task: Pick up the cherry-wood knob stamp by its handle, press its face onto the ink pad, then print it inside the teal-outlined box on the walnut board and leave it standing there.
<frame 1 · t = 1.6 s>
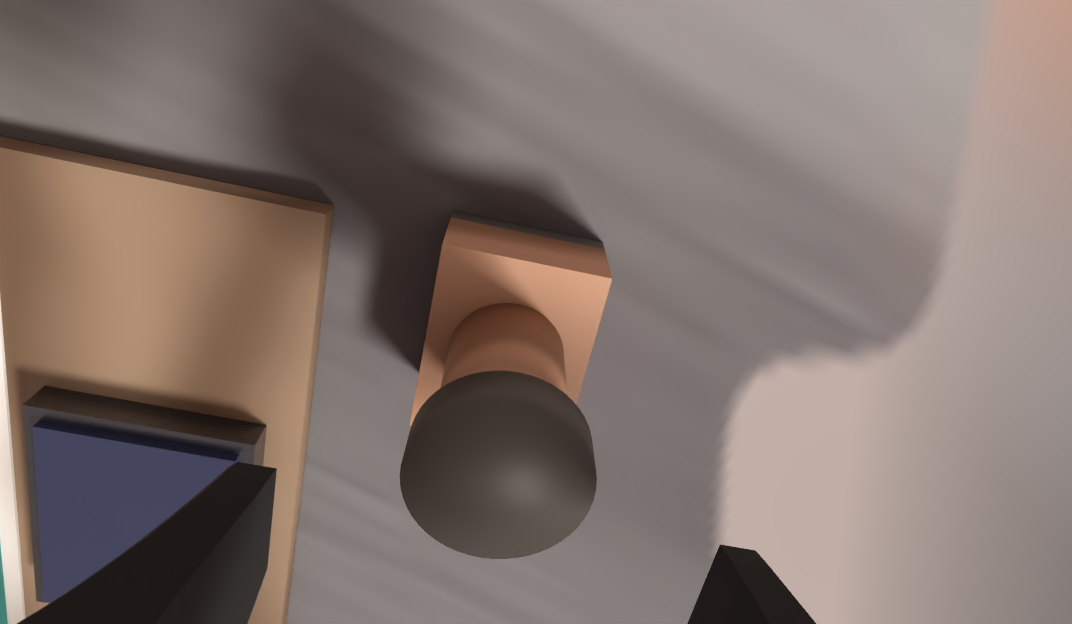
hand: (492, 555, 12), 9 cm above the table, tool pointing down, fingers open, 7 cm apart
stamp: (509, 311, 21), on the table
ink pad: (155, 504, 22), resting on stamping board
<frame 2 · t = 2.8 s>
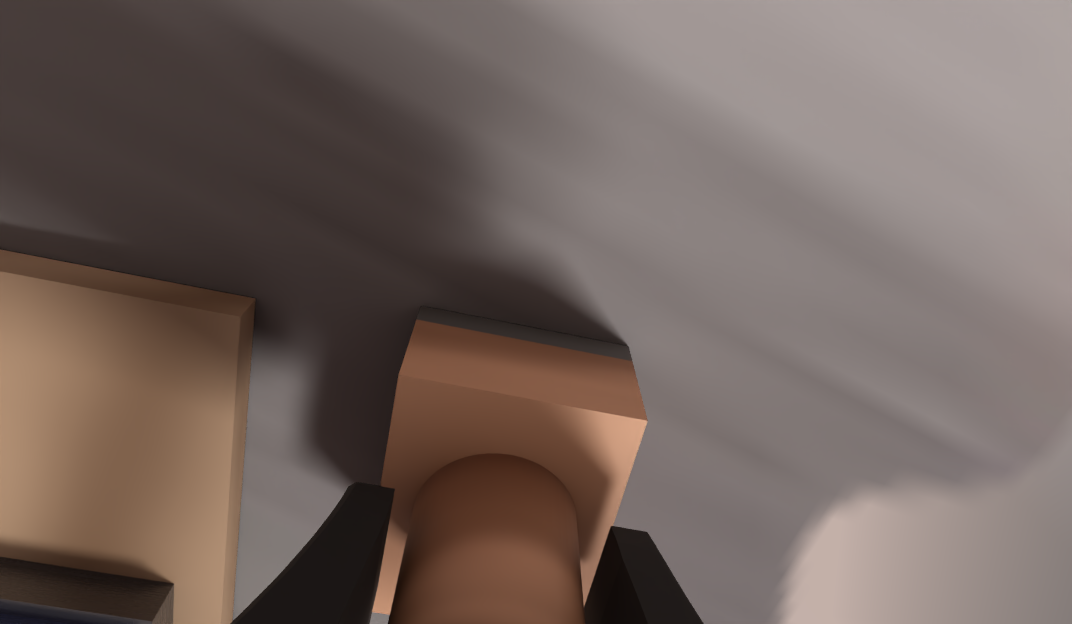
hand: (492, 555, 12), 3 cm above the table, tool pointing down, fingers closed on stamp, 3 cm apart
stamp: (500, 435, 15), on the table, touching gripper
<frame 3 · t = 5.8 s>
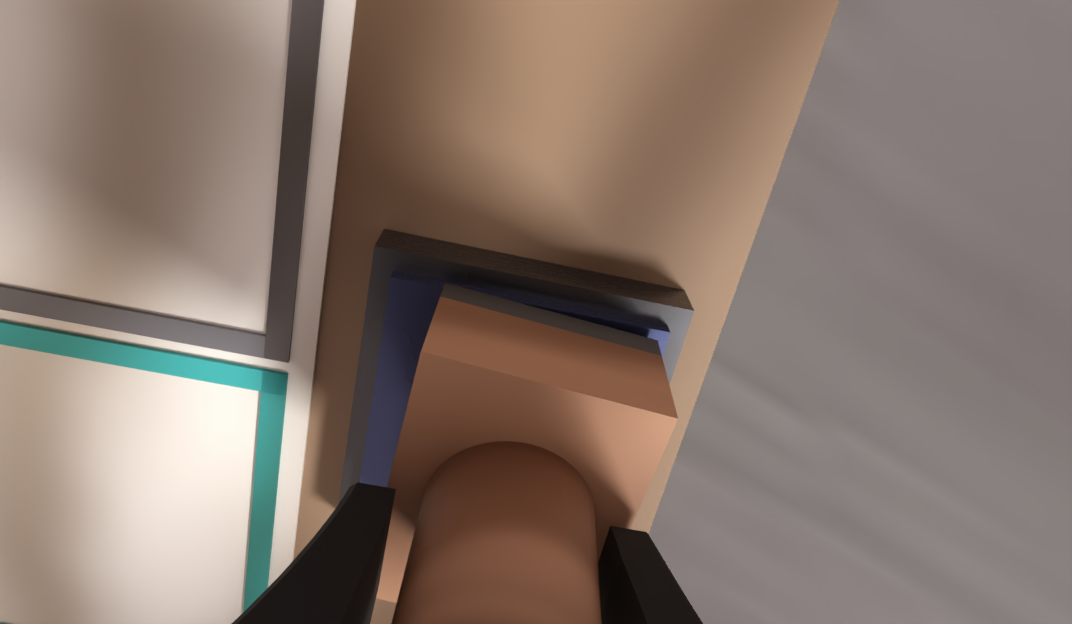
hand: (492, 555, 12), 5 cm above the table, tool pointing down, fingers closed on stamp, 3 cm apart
stamping board: (277, 348, 16), on the table
stamp: (516, 423, 15), point 2 cm above the table, touching gripper, ink pad
ink pad: (501, 409, 16), resting on stamping board
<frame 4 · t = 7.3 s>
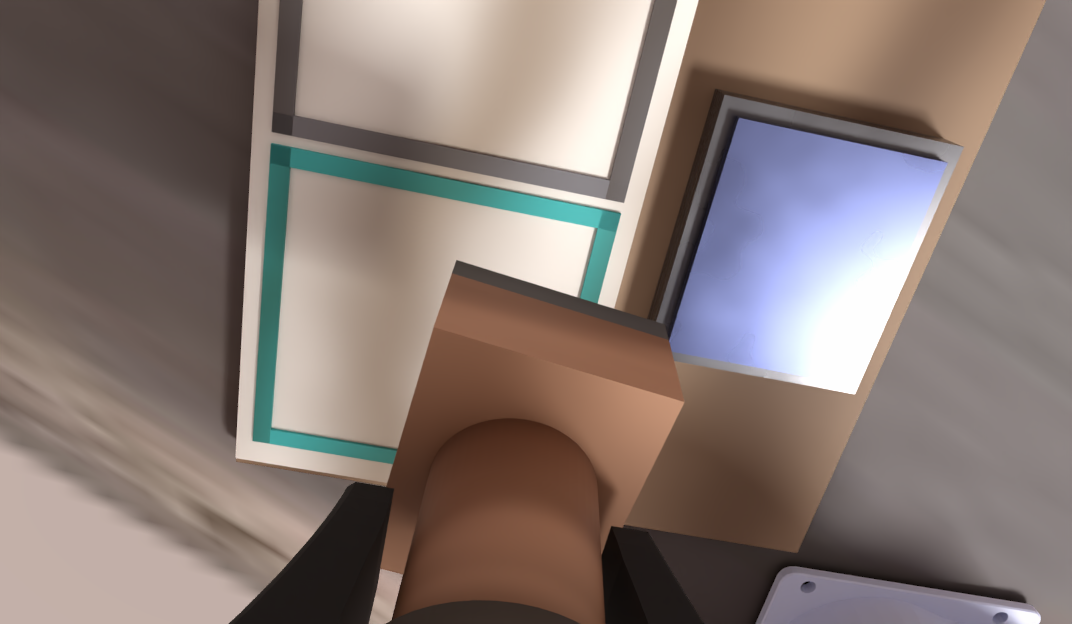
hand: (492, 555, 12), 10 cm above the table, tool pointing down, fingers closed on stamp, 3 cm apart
stamping board: (599, 199, 20), on the table
stamp: (521, 401, 15), point 7 cm above the table, touching gripper
ink pad: (783, 244, 20), resting on stamping board
when the fingers open (4 cm above the table, at t = 8.8 s): stamp stays where it is, resting on stamping board.
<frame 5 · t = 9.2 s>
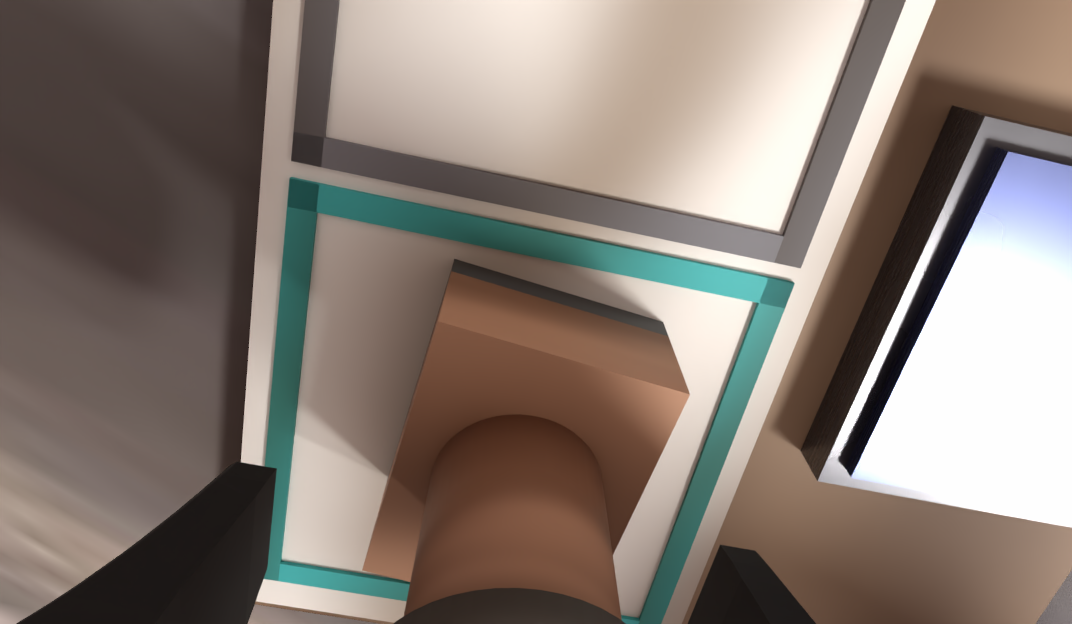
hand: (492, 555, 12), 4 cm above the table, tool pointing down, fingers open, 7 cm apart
stamping board: (753, 258, 14), on the table
stamp: (518, 403, 15), point 1 cm above the table, touching stamping board
ink pad: (1017, 326, 14), resting on stamping board
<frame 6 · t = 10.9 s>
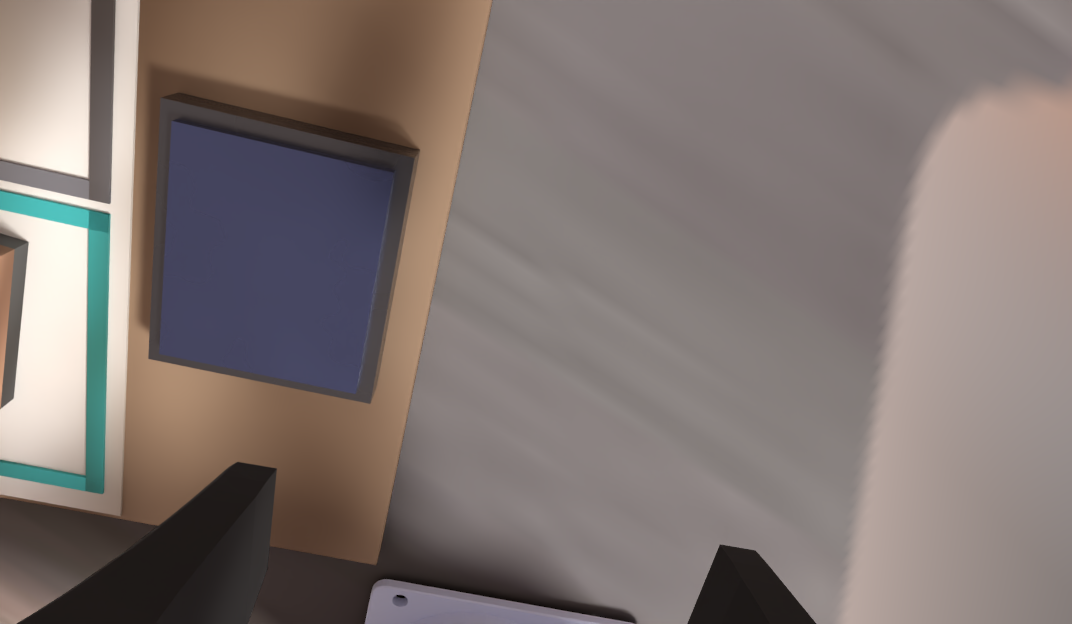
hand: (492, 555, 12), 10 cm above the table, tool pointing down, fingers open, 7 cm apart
stamping board: (108, 200, 20), on the table
ink pad: (285, 251, 20), resting on stamping board
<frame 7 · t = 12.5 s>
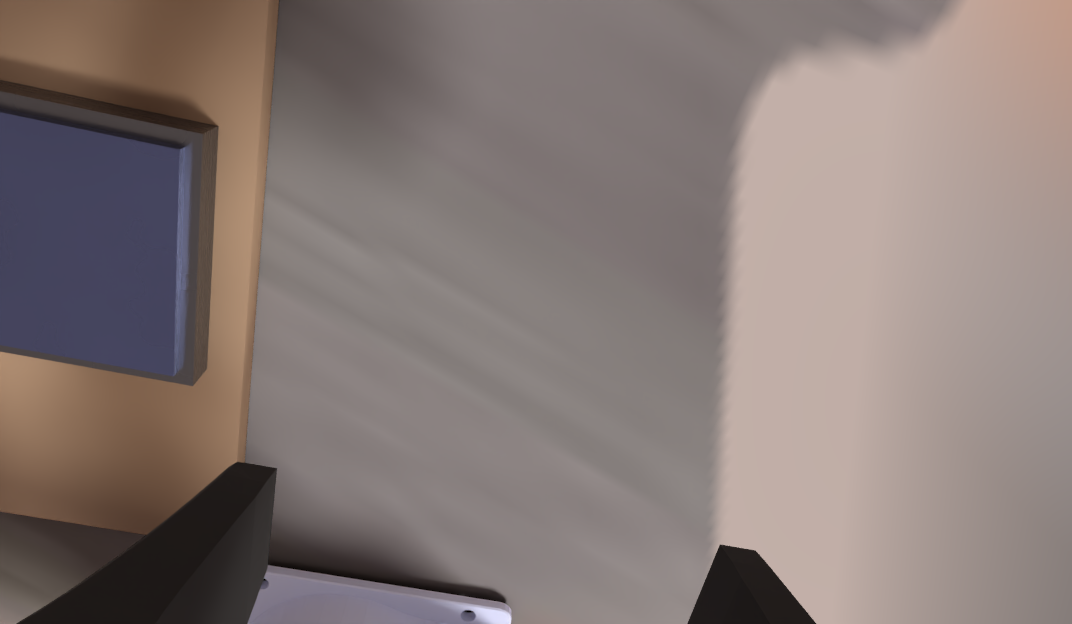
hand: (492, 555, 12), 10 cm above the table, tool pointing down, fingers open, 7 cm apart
ink pad: (96, 233, 20), resting on stamping board
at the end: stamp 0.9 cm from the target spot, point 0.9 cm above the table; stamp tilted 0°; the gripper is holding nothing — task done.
